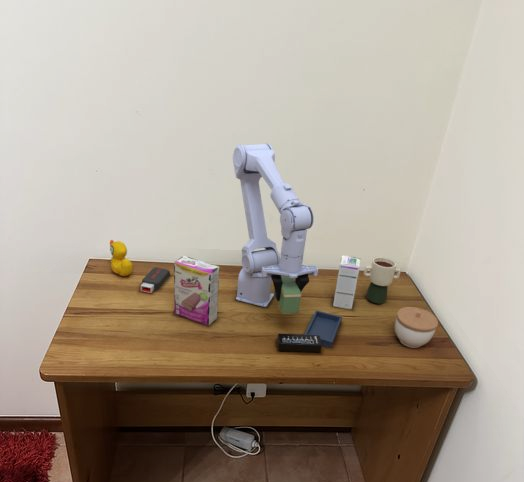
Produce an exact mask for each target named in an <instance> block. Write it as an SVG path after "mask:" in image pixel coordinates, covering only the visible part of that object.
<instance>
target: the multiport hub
mask: <svg viewBox="0 0 524 482" xmlns="http://www.w3.org/2000/svg"><path fill="white" fill-rule="evenodd" d="M276 343H277V350H278V351H280V352H302V353H321V351H322V347H323V345H322V343H321V339H320V336H319V335H304V334H302V333H301V334H299V333H298V334H296V333H277V339H276Z"/></svg>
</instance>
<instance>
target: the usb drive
mask: <svg viewBox="0 0 524 482" xmlns="http://www.w3.org/2000/svg"><path fill="white" fill-rule="evenodd" d="M170 276H171V271H170V270H169V269H167V268H162V267H157V266H155V267H152V269H151V270H150V271H149V272H148V273H147V274H146V275H145V276H144V277H143V278H142V279H141V285H139V286H140V292H144V293H149V294H152V293H153V292H155V291H158V290H160V288H161V287H162V286H163V285H164V284H165V283H166V281H168V279H169V278H170Z"/></svg>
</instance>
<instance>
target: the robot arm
mask: <svg viewBox="0 0 524 482" xmlns="http://www.w3.org/2000/svg"><path fill="white" fill-rule="evenodd" d="M275 162H276V152H275V150H274V147H272V145H271V144H270V143H267V142H266V143H261V144H260V143H259V144H236V146H235V148H234V149H233V153H232V163H233V169H234V174H235V178H236V179H238V180H239V183H240V189H241V196H242V201H243V207H244V213H245V221H246V226H247V233H248V239H249V240H248V241H247V242H246V243H245V244H244V246H242V248H241V266H242V268H241V269H240V271H239V274H238V277H237V288H236V297H235V300H236V301H238V302H243V303H245V304H246V303H247V304H251V305H254V306H258V307H262V308H267V307H268V305H269V304H270V302H271V301H272V299H273V298H275V300H276V302H277V301H279V300H280V293H281V287H282V284H283V282H282V277H281V275H284V276H289V277H290V278H294V280H295V282H296V284H297V286H298V288H299V290H300V292H301V293H302V292H303V290H304V288H305V287H306V286H307V285H308V284H309V282H310V277H309V276H313V277H317V276H318V274H319V268H318V266H316V265H309V264H308V265H307V264H303V260H304V253H305V247H306V240H307V234H308V230H309V229H311V228H312V227H313V225H314V213H313V212H314V211H313V210H312V207H310V205H309V204H305V202H301V200H300V199H299V197H298V195H297V194H296V192H295V191H294V189H293V187H292V185H291V184H290V183H287V182H284V180H283V179H282V175H281V173H280V171H279V170H278V167H277V165H276V163H275ZM262 178H263V180H264V182H265V183H266V184H267V186H268V187H269V188H270V190H271V191H270V199H271V200H272V202H273V204H274V206H275V207H276V209H277V211H278V213H279V223H280V227H281V228H280V229H281V230H280V233H281V236H282V241H281V248H280V253H279V251H278V248H277V244H276V242H275V241H273V240H272V239H271V238H268V235H267V227H266V220H265V214H264V208H263V207H264V206H263V202H262V201H263V200H262V195H261V188H260V180H261V179H262ZM272 284H273V288H274V289H275V295H274V292H271V289H272Z"/></svg>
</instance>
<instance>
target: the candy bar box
mask: <svg viewBox="0 0 524 482" xmlns="http://www.w3.org/2000/svg"><path fill="white" fill-rule="evenodd" d="M219 284H220V266H218V265H215V264H212V263H208V262H206V261H203V260H199V259H196V258H194V257H190V256H186V255H182V256H180V257H179V258H178V259H176V260H175V261H174V262H173V285H174V286H173V294H174V297H173V298H174V299H173V303H174V305H173V306H174V307H173V309H174V312H173V313H174V315H175V316H178V317H181V318H183V319H184V318H185V319H187V320H191V321H193V322H196V323H199V324H202V325H204V326H207V327H210V325H212V323H214V322H215V321H216V320H217V319H218V308H219V307H218V306H219V304H218V303H219V288H220V287H219V286H220V285H219Z"/></svg>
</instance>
